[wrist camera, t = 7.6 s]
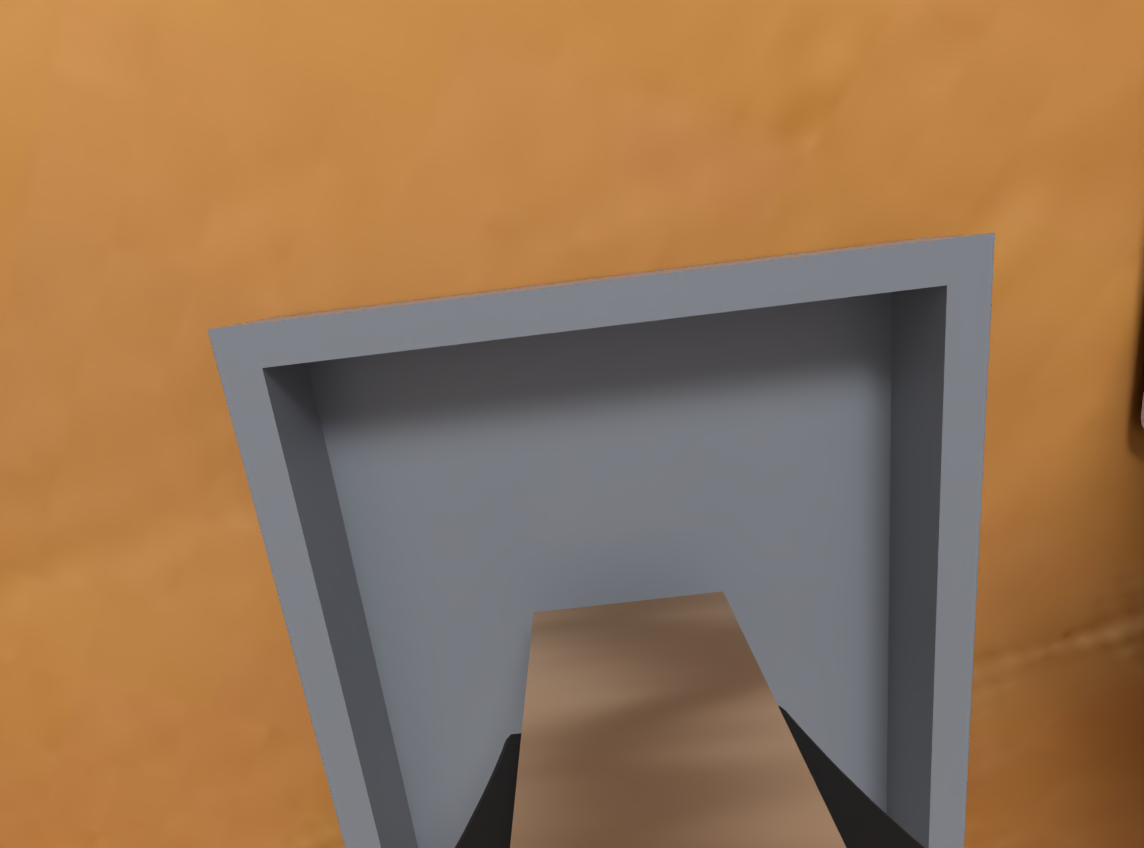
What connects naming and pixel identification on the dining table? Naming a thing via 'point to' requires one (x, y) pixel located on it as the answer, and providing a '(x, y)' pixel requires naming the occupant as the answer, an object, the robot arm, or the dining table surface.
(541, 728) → the walnut block
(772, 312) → the tray
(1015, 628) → the dining table surface
